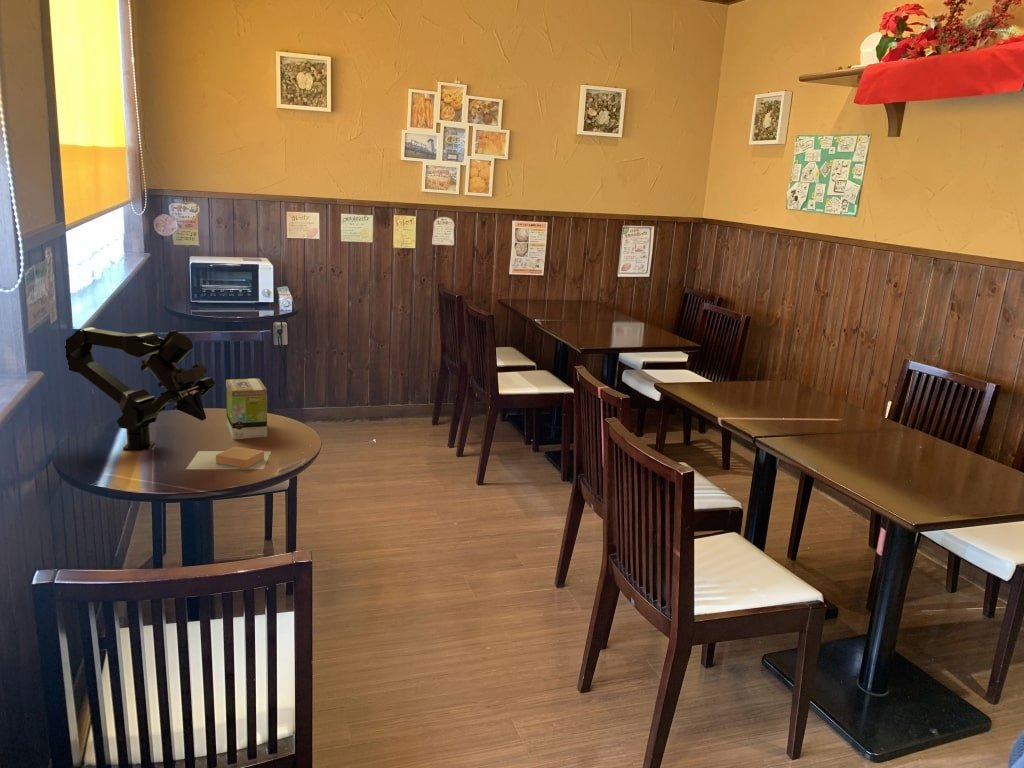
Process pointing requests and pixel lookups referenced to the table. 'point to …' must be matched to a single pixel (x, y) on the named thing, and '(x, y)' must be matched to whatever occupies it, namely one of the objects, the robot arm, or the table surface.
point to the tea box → (246, 408)
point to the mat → (209, 462)
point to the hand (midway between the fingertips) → (204, 419)
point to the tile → (240, 457)
